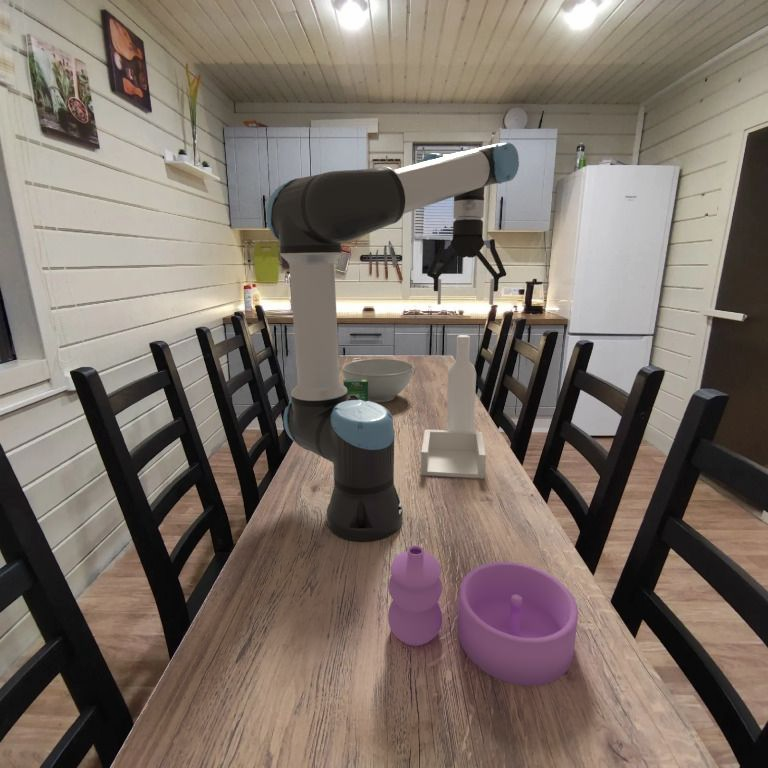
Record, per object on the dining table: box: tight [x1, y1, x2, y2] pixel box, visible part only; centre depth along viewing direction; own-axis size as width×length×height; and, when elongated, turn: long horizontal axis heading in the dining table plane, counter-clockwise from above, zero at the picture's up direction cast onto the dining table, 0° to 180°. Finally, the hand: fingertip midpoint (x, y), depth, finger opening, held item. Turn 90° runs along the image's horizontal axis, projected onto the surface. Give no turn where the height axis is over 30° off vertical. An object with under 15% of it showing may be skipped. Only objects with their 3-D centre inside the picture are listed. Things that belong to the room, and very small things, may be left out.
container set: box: [387, 545, 579, 687], centre depth 62 cm, size 25×15×13 cm, turn 86°
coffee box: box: [342, 379, 368, 402], centre depth 148 cm, size 8×3×13 cm, turn 99°
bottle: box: [445, 334, 477, 432], centre depth 128 cm, size 8×8×30 cm
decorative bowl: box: [341, 358, 415, 403], centre depth 171 cm, size 27×27×12 cm
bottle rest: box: [420, 429, 486, 480], centre depth 116 cm, size 15×15×6 cm
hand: (464, 304), depth 122 cm, fingers open, 13 cm apart
